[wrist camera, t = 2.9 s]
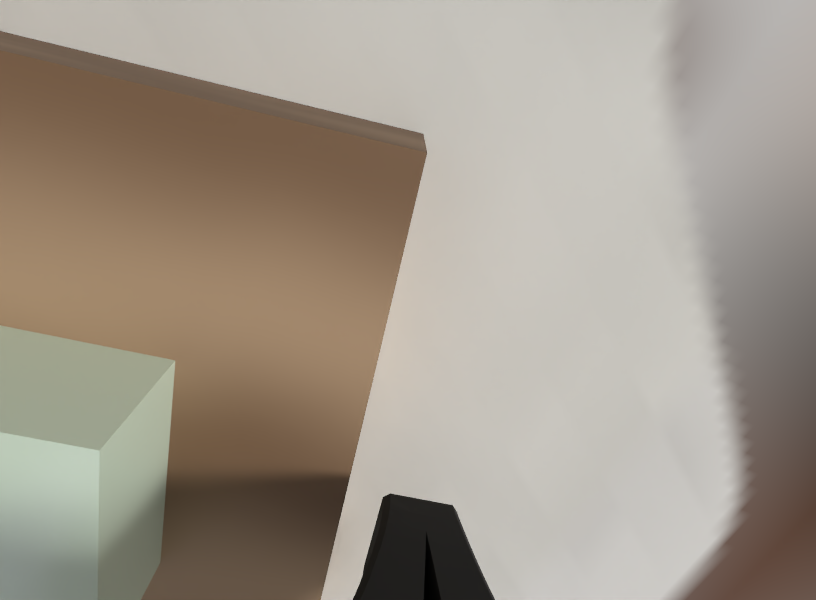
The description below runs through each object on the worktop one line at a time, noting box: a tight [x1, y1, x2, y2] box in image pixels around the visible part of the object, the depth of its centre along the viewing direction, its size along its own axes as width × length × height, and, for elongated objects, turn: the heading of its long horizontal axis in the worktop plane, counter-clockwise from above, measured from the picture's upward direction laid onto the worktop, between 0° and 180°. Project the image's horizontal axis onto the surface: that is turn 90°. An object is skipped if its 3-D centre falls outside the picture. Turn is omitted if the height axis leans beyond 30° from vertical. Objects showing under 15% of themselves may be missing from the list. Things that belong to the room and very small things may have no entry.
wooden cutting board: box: [0, 31, 427, 600], centre depth 12 cm, size 14×14×3 cm
